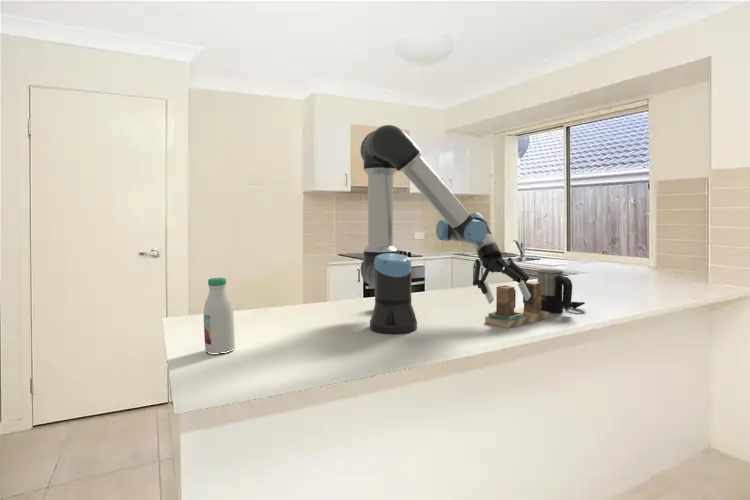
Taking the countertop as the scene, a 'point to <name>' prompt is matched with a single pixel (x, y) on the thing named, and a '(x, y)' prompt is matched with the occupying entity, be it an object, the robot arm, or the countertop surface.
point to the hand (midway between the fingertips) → (510, 300)
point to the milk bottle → (218, 318)
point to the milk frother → (555, 291)
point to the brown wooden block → (505, 300)
